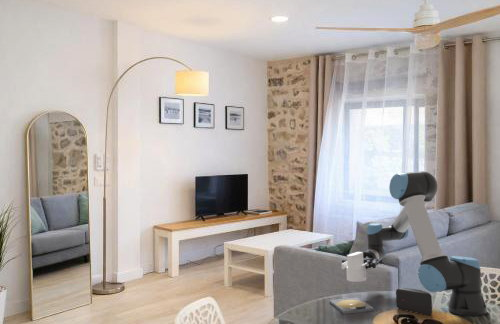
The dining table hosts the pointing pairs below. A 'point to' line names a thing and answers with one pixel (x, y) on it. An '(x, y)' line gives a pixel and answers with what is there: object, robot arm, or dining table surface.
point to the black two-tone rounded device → (414, 300)
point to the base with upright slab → (355, 267)
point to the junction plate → (351, 305)
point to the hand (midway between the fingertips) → (352, 267)
